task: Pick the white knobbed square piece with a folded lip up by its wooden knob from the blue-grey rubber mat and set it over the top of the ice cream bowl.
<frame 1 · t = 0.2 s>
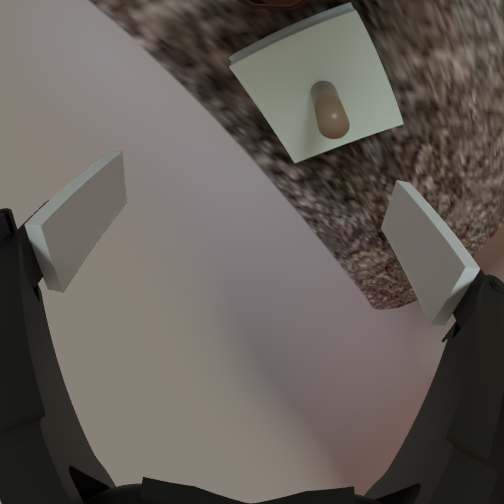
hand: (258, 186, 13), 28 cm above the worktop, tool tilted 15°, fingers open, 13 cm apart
mat: (319, 79, 34), on the worktop
white knobbed square piece: (320, 81, 33), point 1 cm above the worktop, touching mat
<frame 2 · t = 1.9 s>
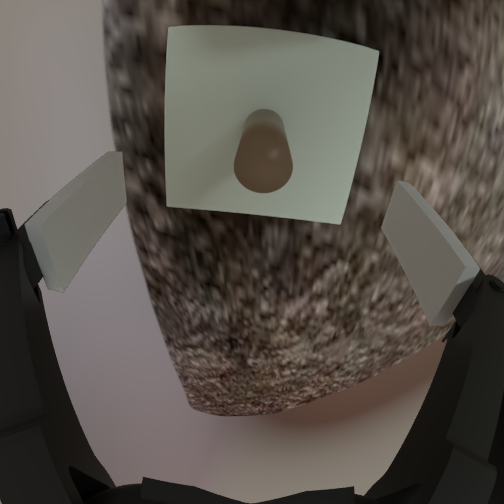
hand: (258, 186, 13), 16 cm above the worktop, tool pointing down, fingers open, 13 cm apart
white knobbed square piece: (264, 117, 25), point 1 cm above the worktop, touching mat
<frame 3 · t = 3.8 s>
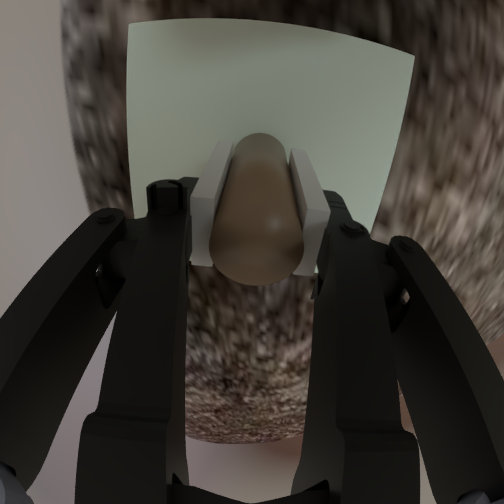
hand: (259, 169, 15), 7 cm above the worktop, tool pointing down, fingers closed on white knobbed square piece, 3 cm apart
white knobbed square piece: (260, 139, 20), point 1 cm above the worktop, touching gripper, mat
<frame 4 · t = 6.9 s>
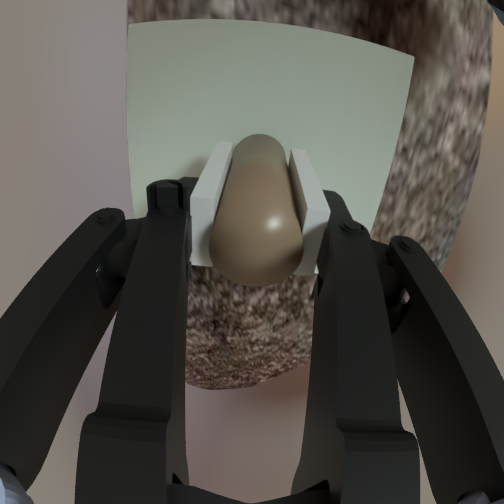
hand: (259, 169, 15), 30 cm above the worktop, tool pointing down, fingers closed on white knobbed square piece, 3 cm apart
white knobbed square piece: (260, 140, 20), point 24 cm above the worktop, touching gripper
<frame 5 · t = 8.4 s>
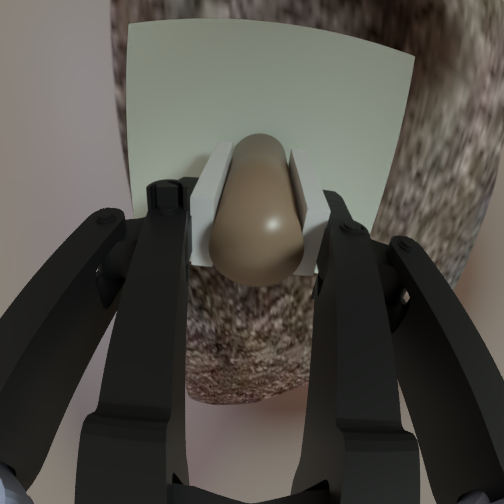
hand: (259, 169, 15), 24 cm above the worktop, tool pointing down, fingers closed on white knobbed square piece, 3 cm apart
white knobbed square piece: (260, 140, 20), point 18 cm above the worktop, touching gripper
when the fingers open (19 cm above the worktop, at t = 9.9 s): white knobbed square piece drops 1 cm, resting on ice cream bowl.
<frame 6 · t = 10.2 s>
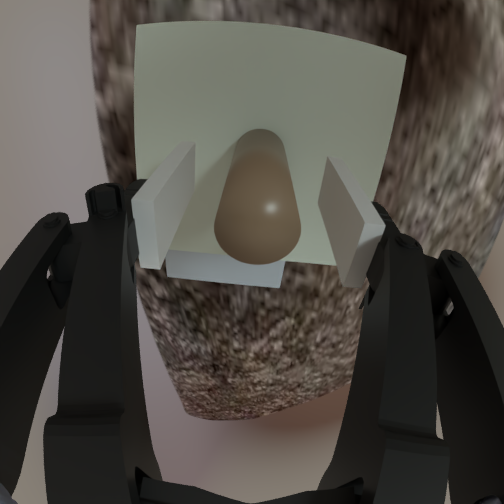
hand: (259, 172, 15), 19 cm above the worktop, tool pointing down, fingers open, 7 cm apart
mat: (225, 232, 40), on the worktop
white knobbed square piece: (260, 136, 21), point 12 cm above the worktop, touching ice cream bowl
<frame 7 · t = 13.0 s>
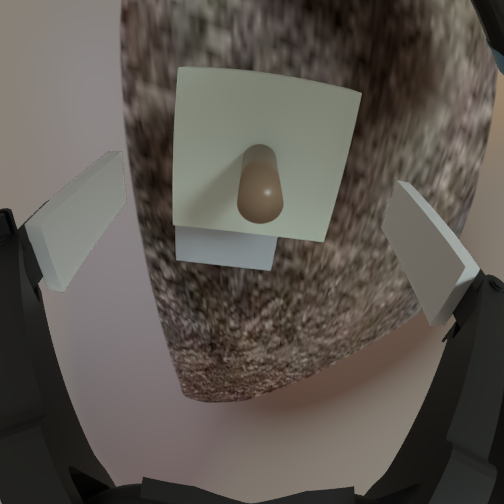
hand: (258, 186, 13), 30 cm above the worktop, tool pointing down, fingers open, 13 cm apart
mat: (227, 222, 49), on the worktop
white knobbed square piece: (259, 147, 30), point 12 cm above the worktop, touching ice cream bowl
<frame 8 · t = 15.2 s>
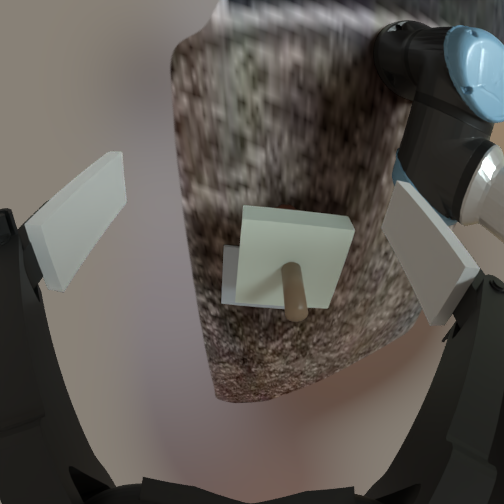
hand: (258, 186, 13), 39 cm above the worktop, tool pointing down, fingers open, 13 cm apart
mat: (260, 279, 68), on the worktop
white knobbed square piece: (288, 253, 49), point 12 cm above the worktop, touching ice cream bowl
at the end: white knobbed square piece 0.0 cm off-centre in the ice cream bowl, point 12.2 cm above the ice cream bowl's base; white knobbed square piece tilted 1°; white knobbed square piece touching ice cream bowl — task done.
